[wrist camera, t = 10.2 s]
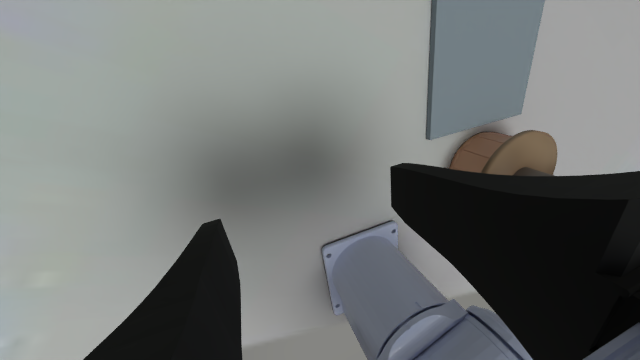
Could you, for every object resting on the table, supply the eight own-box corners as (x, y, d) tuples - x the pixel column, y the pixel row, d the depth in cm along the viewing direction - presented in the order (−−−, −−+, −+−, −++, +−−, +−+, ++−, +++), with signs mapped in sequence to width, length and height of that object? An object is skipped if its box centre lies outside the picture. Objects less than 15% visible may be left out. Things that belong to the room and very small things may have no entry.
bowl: (494, 184, 29) (531, 200, 25) (445, 202, 27) (477, 222, 24) (505, 124, 26) (549, 133, 22) (450, 141, 24) (489, 152, 21)
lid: (537, 205, 26) (594, 229, 22) (468, 234, 24) (517, 267, 20) (560, 119, 22) (634, 130, 18) (480, 145, 20) (545, 163, 16)
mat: (516, 113, 25) (521, 113, 25) (426, 138, 23) (430, 140, 22) (542, -22, 21) (549, -24, 20) (432, -10, 18) (437, -12, 17)
